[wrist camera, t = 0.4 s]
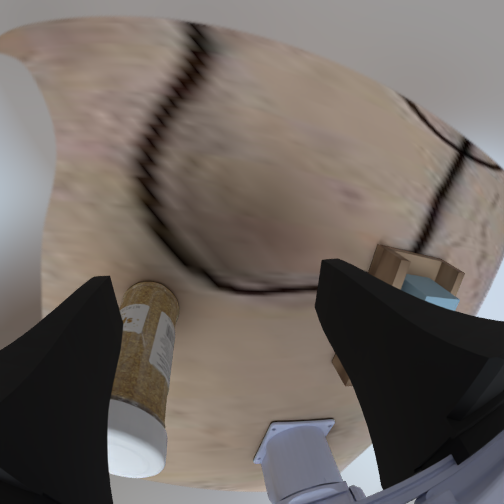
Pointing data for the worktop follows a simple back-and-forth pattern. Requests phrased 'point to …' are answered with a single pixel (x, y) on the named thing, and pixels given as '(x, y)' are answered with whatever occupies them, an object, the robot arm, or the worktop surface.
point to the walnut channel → (394, 272)
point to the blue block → (429, 291)
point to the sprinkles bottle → (142, 382)
